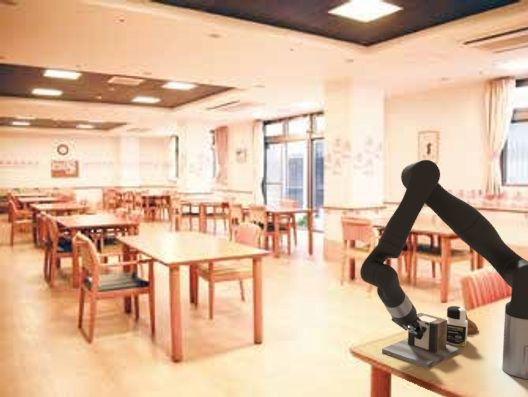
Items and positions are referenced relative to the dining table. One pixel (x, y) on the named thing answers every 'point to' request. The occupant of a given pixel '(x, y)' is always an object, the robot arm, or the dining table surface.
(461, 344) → the medicine bottle
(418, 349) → the u-shaped block stand
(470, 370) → the dining table surface
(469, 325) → the bell
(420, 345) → the peg
